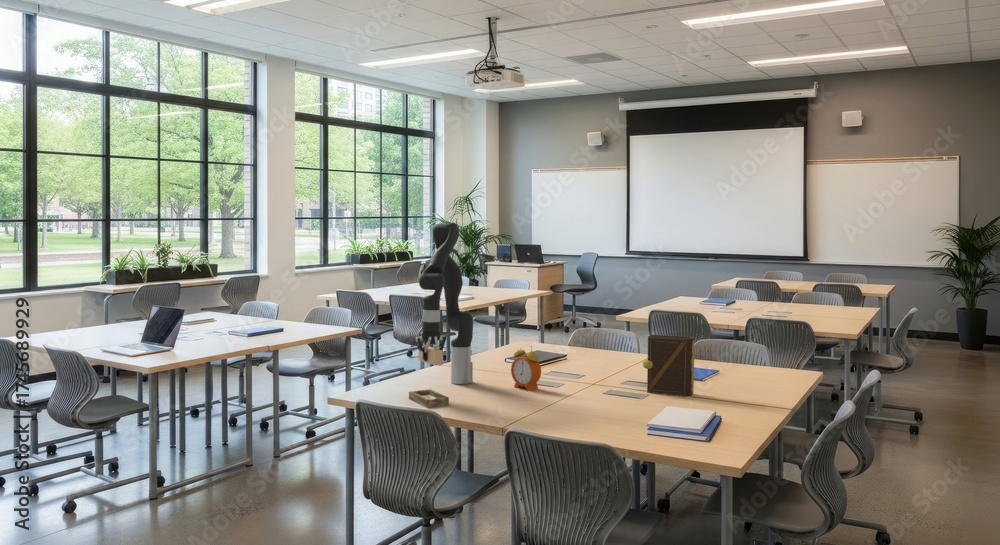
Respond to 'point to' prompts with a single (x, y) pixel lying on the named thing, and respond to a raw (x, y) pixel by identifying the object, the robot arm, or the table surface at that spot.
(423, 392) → the picture frame
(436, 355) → the strip
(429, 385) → the table surface
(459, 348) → the robot arm
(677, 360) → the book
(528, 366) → the alarm clock
